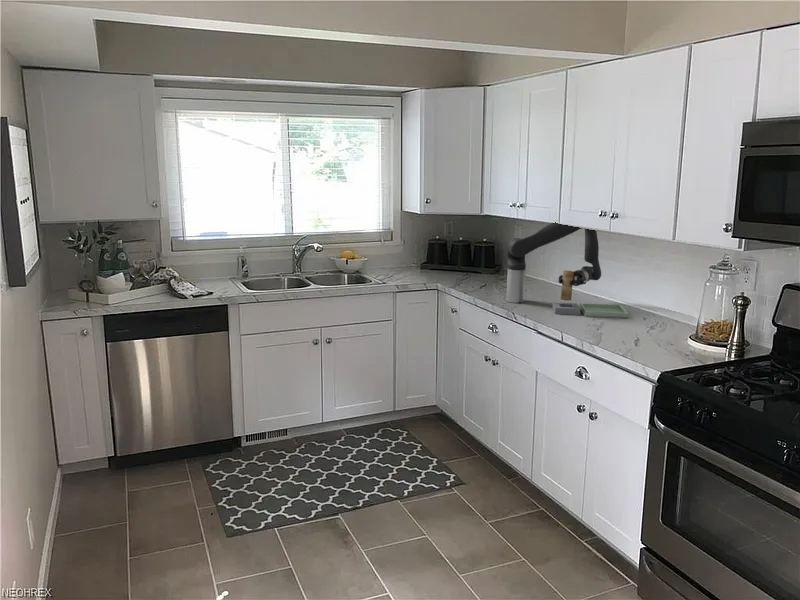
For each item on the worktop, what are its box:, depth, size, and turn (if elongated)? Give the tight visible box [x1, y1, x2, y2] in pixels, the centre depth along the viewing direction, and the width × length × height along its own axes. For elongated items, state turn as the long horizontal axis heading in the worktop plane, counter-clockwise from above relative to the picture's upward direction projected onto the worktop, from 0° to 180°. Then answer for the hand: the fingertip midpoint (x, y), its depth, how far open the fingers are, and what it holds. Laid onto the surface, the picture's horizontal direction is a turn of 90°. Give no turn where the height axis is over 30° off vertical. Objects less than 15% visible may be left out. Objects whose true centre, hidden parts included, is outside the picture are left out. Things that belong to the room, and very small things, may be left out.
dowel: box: [560, 270, 574, 302], centre depth 323 cm, size 5×5×14 cm
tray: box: [579, 302, 629, 319], centre depth 323 cm, size 18×20×2 cm
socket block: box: [551, 302, 581, 316], centre depth 325 cm, size 12×12×3 cm
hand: (565, 282), depth 320 cm, fingers closed on dowel, 5 cm apart
